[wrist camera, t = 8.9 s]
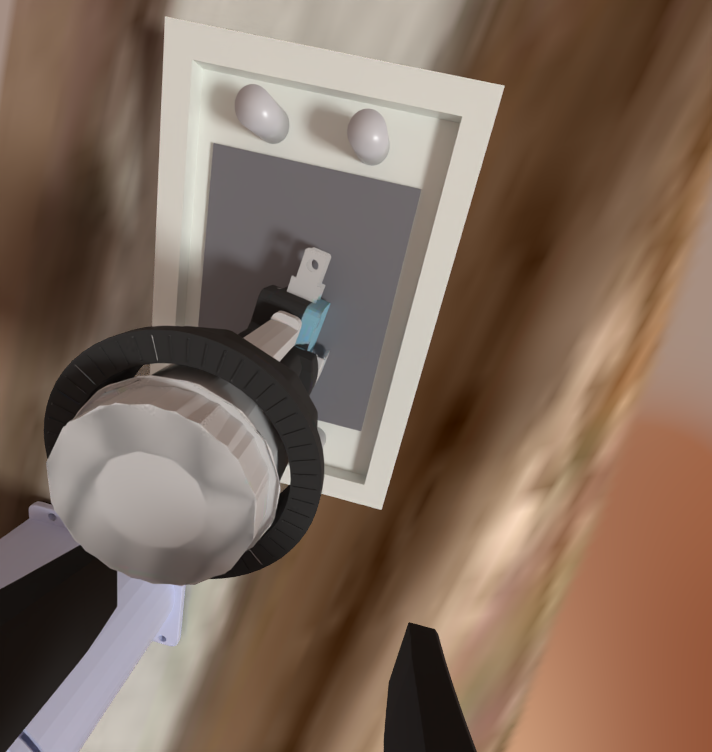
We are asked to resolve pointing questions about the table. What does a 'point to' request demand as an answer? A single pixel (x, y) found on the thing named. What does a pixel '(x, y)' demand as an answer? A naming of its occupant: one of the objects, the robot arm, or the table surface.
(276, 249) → the pin tray
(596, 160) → the table surface
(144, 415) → the push button
